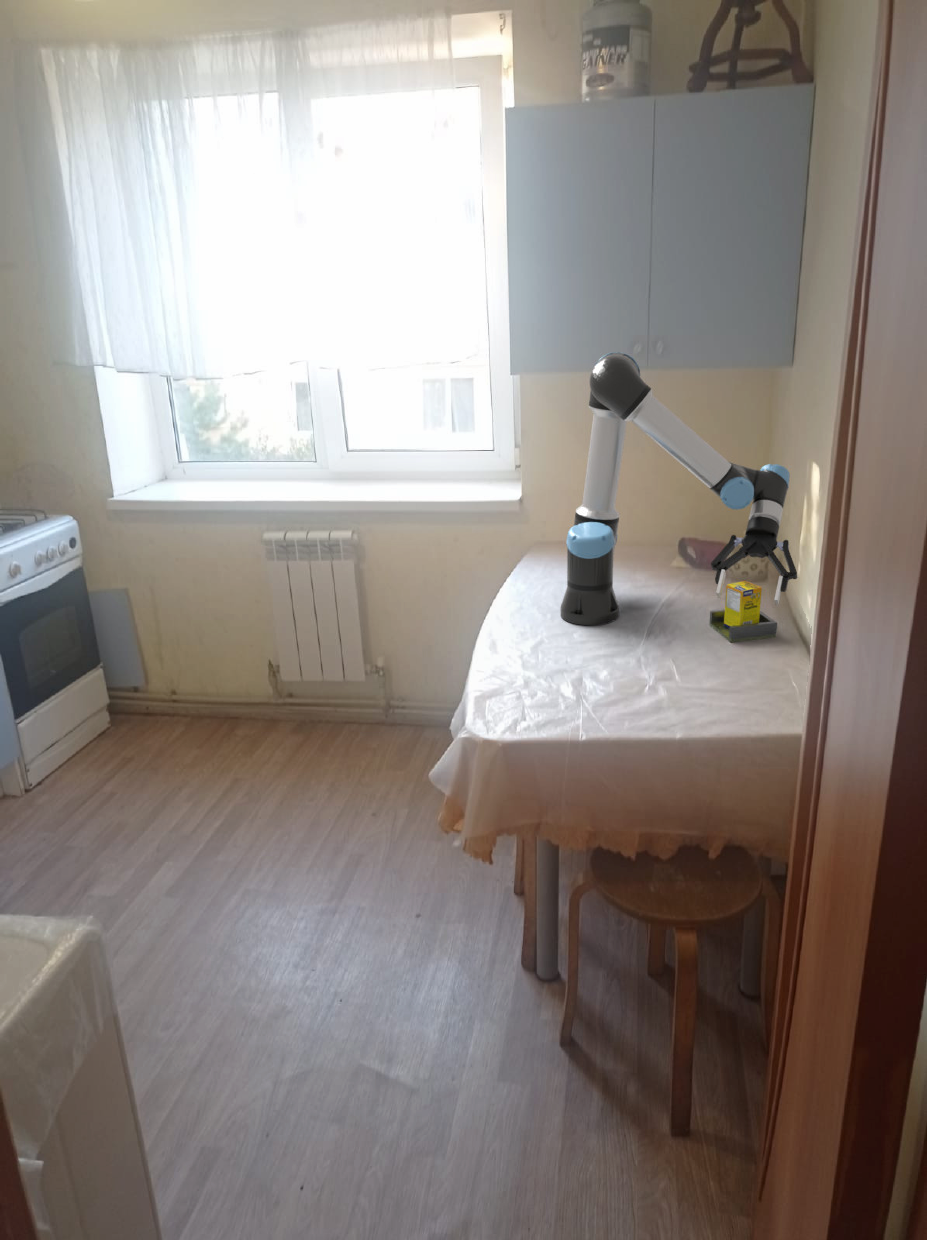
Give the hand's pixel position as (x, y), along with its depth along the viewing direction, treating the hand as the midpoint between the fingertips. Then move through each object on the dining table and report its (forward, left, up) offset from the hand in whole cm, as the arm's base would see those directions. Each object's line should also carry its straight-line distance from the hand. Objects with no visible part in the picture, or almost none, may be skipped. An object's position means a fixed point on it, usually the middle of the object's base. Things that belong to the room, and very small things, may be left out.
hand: (746, 599), depth 212 cm
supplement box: (-1, -1, -8) cm, 8 cm away
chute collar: (0, 0, -8) cm, 8 cm away
